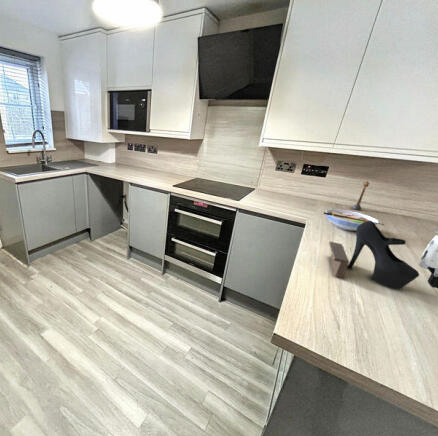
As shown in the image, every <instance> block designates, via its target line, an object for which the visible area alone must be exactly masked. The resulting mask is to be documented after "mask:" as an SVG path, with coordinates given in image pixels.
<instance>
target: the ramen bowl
mask: <svg viewBox="0 0 438 436" xmlns="http://www.w3.org/2000/svg"><path fill="white" fill-rule="evenodd" d="M323 215H325V216H326V217H327V219H328V220H329V222H330V223H331V224H332V225H335V226H336V227H338V228H339V229H341V230H344V231H350V232H354V231H355V232H356V229H357V227H358V226H359V225H360V224H362V223H364V222H366V221H372V222H373V223H374V224H375V225H376V226H377V225H381V226H382V225H383V226H385V223H380V222H379V220H378V219H377V218H375V217H373V216H369V215H367V214H364V213H360V212H356V211H352V210H347V209H339V208H329V209H326V210H325V211H324V212H323Z"/></svg>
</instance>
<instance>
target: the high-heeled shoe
mask: <svg viewBox="0 0 438 436" xmlns="http://www.w3.org/2000/svg"><path fill="white" fill-rule="evenodd" d="M355 235H356V239H355V247H354V251H353V254H352V257H351V259H350V260H349V263H348V265H347V269H350V270H352V269H353V267H354V265H355V263H356V261H357V259H358V258H359V256H360V254H361V252H362V250H363V248H364V246H366V247H367V248H368V249H369V250H370V252H371V254H372V255H373V259H374V268H373V271H372V275H371V276H370V279H371V281H373V282H374V283H377V284H378V285H381V286H383V287H386V288H391V289H395V290H399V289H403V288H404V287H406V286H407V285H409V284H410V283H412V282H413V281H414V280H415V279H417V278H418V277H420V273H419V271H418V270H417V269H416V268H414V267H412V266H411V265H410V264H408V263H407V262H406V261H404V260H402V259H400V258H399V257H397V256H396V255H395V254H394V253H393V251H392V250H391V248H390V246H399V245H401V246H405V245H406V242H407V241H406V240H405V239H403V238H397V237H386V236H385V235H384V234H383V233H382V232H381V230H380V229H379V227H378V226H377V225H375V224H374V223H373V222H372V221H366V222H364V223H362V224H360V225H359V226H358V227H357V229H356V230H355Z"/></svg>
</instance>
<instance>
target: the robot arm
mask: <svg viewBox="0 0 438 436" xmlns="http://www.w3.org/2000/svg"><path fill="white" fill-rule="evenodd" d="M434 233H435V234H436V233H437V234H436V235H434V237H433V238H432V239H431V240H430V242H429V243H428V244H427V246H426V247H425V249H424V251H423V253H422V255H421V256H420V261H419V262H418V266H419V267H420V268H423V269H426V270H428V271H429V272H430V275H429V276H428V279H427V283H428V285H430V287H431V288H433V289H435V288H436V289H438V228H437V227H436V228H435V229H434Z"/></svg>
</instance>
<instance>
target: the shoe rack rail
mask: <svg viewBox="0 0 438 436" xmlns="http://www.w3.org/2000/svg"><path fill="white" fill-rule="evenodd" d="M328 246H329V250H330V252H331V254H330V256H329V259H330V263H331V267H332V270H333V273H334V277H336V278H340V279H343V277H344V274H345V272H346V270H347V269H348V267H347V266H348V265H349V263H350V260H349V259H348V258H349V257H348V256H347V253H346V251H345V249H344V246H343V244H342V243H339V242H333V241H329V242H328Z"/></svg>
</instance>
